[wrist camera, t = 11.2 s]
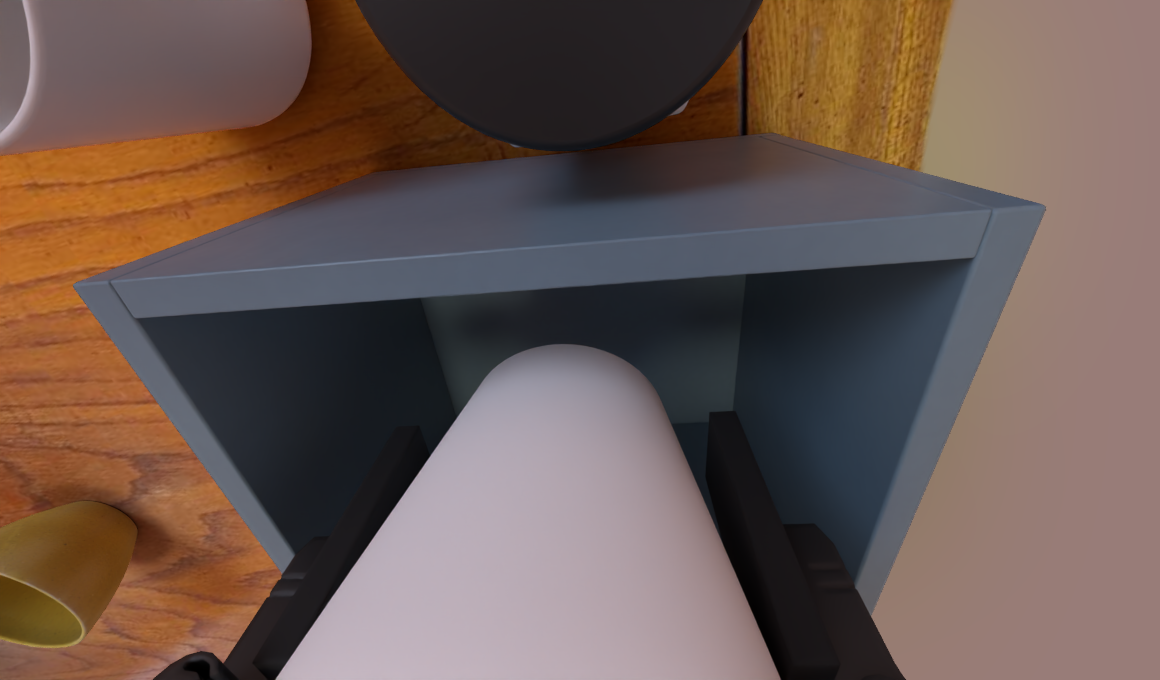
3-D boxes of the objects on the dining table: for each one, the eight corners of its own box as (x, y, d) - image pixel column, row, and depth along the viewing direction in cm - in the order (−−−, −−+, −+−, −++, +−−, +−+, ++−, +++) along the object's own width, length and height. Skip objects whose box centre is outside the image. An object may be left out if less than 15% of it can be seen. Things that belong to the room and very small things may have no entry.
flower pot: (108, 469, 33) (-7, 558, 26) (196, 551, 37) (116, 643, 31) (5, 486, 34) (-127, 574, 28) (103, 563, 39) (9, 653, 33)
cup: (661, 525, 18) (746, 1152, 7) (438, 491, 17) (188, 1106, 7) (738, 333, 13) (1263, 1269, 3) (439, 282, 13) (-296, 1152, 2)
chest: (372, 172, 21) (68, 284, 9) (773, 132, 19) (1051, 204, 7) (455, 434, 29) (353, 673, 17) (740, 421, 28) (847, 676, 16)
